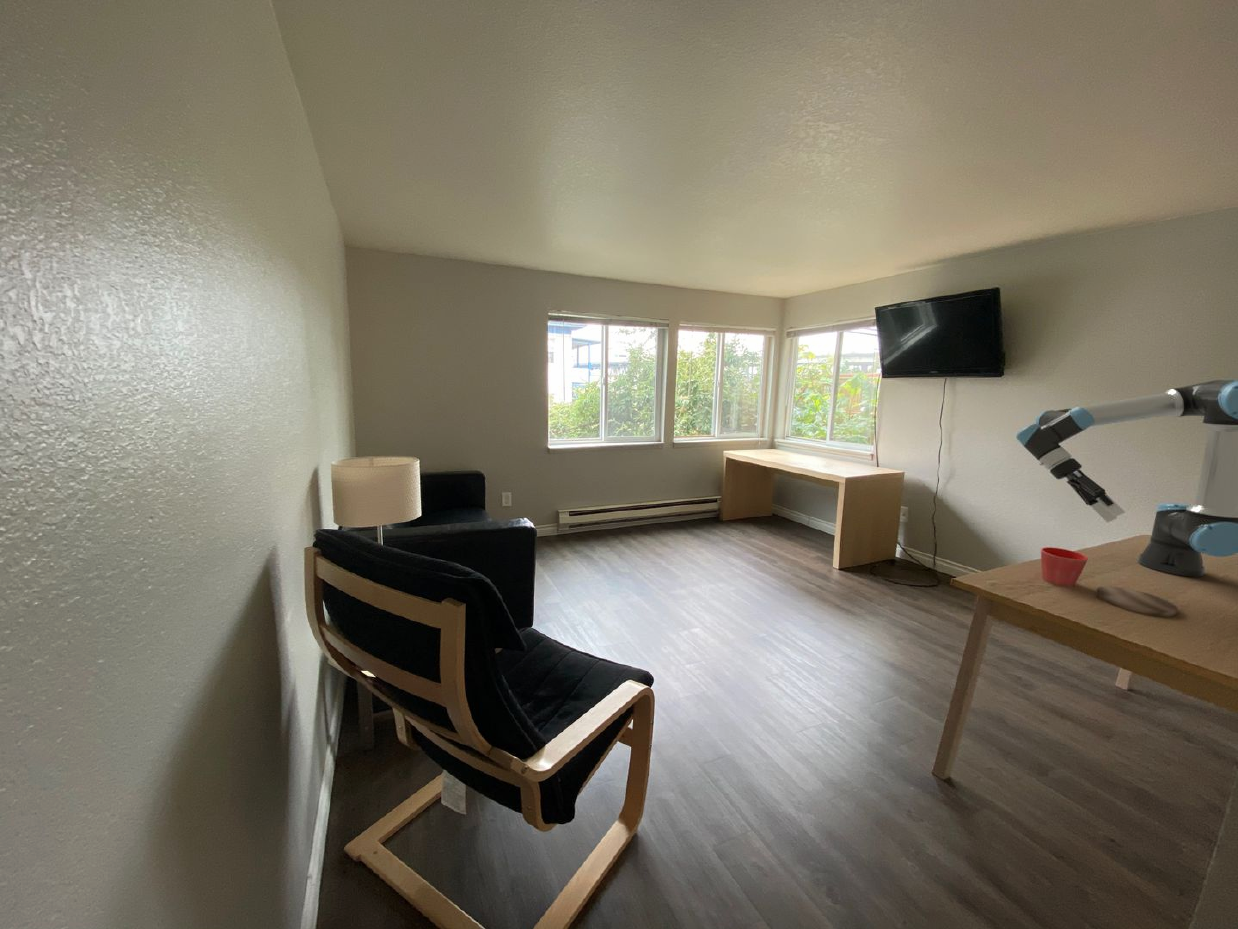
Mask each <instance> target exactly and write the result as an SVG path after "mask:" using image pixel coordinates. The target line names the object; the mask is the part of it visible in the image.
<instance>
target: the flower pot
mask: <svg viewBox="0 0 1238 929" xmlns="http://www.w3.org/2000/svg"><path fill="white" fill-rule="evenodd" d="M1040 560H1041V561H1040V562H1041V563H1040V565H1041V575H1042V576H1041V578H1042V579H1043V581H1046V582H1047V583H1049V584H1053V585H1056V586H1061V587H1074V586H1075V585H1076V584H1077V581H1078V579H1079V577H1080V575H1081V574H1082V573H1083V570H1084V568H1085V566H1086V564H1087V562H1088V557H1087V556H1086V555H1084V554H1082V553H1081V552H1080V553H1079V552H1076V551H1073V550H1069V549H1065V548H1059V547H1052V546H1051V547H1048V546H1047V547H1046V546H1045V547H1042V548H1041V549H1040Z"/></svg>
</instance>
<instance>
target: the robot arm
mask: <svg viewBox="0 0 1238 929" xmlns="http://www.w3.org/2000/svg"><path fill="white" fill-rule="evenodd" d="M1166 416H1170V417H1172V418H1179V417H1180V418H1181V417H1203V420H1202V425H1203V426H1204V427H1206V428H1207V429H1208V433H1207V438H1206V444H1205V449H1204V454H1203V458H1202V464H1201V469H1200V473H1199V479H1198V483H1197V488H1196V494H1195V499H1194V503H1193V504H1184V503H1173V502H1162V503H1160V504H1159V505H1158V506H1157V509H1156V511H1155V513H1156V514H1155V518H1154V523H1153V526H1152V531H1151V536H1150V539H1149V543H1148V544H1147V546H1146V548H1145V549H1143V552H1142V553H1140V554H1139V557H1138V560H1137V562H1138V563H1139V564H1140V566H1144V567H1146V568H1148V569H1152V570H1155V571H1158V572H1163V573H1166V574H1170V575H1177V576H1184V577H1190V578H1192V577H1193V578H1194V577H1195V578H1196V577H1200V578H1201V577H1203V576H1204V574H1205V566H1204V562H1203V556H1202V554H1204V555H1207V556H1212V557H1216V558H1218V557H1219V558H1224V557H1230V556H1234V555H1236V554H1238V379H1234V380H1233V379H1231V380H1229V379H1227V380H1225V379H1216V380H1209V381H1204V382H1200V383H1196V384H1195V383H1194V384H1190V385H1187V386H1182V387H1176V388H1175V387H1174V388H1169V389H1167V390H1166V391H1165V392H1164V393H1158V394H1152V395H1151V394H1150V395H1146V396H1138V397H1133V398H1132V397H1131V398H1127V399H1126V398H1125V399H1121V400H1114V401H1107V402H1101V403H1095V404H1089V405H1088V404H1087V405H1083V406H1076V407H1071V408H1065V409H1059V410H1058V409H1057V410H1054V409H1053V410H1052V409H1051V410H1045V411H1043V412H1041V413H1039V414H1038V415H1037V416H1036V419H1035V423H1032V424H1030V425H1028V426H1025V427H1024V428H1022V429H1021V430H1020V431H1018V432H1017V434H1016V440H1018V442H1019V443H1020V444H1021V445H1022V446H1023V448H1025V449H1026V450H1027V451H1028V452H1029V453H1030V454H1031V455H1032V456H1033V457H1034V458H1035V459H1036V460H1037V461H1039V466H1043V467H1045V468H1046V469H1047V470H1049V473H1050V474H1052V476H1053V477H1054V478H1056V480H1062V479H1064V478H1066V479H1067V480H1066V483H1067V484H1068V485H1069V486H1070V487H1071V488H1072V489H1073V490H1074V491H1075V493H1076V494H1077V495H1078V496H1079V497H1080V498H1081V500H1083V502H1084V503H1085V505H1087V506H1090V508H1092V509H1093V510H1094V511H1095V513H1097V515H1099V516H1100V517H1101V518H1102V519H1103V520H1104V521H1105V522H1106V523H1110V522H1112V521H1114V520H1117V519H1118V516H1121V515H1123V514H1125V513H1126V511H1125V510H1124V509H1123V508H1122V507H1121V506H1120V505H1119V504H1118V503H1116V501H1115V500H1113V499H1112V498H1111V497H1110V496H1109V495H1108V494H1107V493H1106V490H1105V488H1103V487H1102V486H1100V485H1099V484H1098V483H1096V482H1095V481H1094V480H1093V479H1091V477H1088V476H1087V475H1086V474H1085V473H1084V472H1082V470H1081V468H1083V466H1082V464H1081V463H1080V462H1078V461H1077V460H1076V459H1075V458H1073V457H1072V455H1071V454H1070V453H1069V452H1068V451H1067V450H1066V449H1065V448H1064V447H1063V446H1061V445H1060V444H1061V443H1063V442H1064V441H1066V440H1068V439H1070V438H1072V437H1074V436H1076V435H1077V434H1080V433H1082V432H1084V431H1086V430H1087V429H1088V428H1090V427H1097V426H1104V425H1109V424H1110V425H1111V424H1116V423H1124V422H1132V421H1138V420H1145V419H1152V418H1159V417H1166Z"/></svg>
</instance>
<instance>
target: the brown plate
mask: <svg viewBox="0 0 1238 929" xmlns="http://www.w3.org/2000/svg"><path fill="white" fill-rule="evenodd" d="M1095 595H1097V596H1096V597H1097V598H1098V599H1100V600H1102V601H1103V602H1105V603H1107V604H1109V605H1112V606H1113V607H1116V608H1119V609H1123V610H1127V611H1129V612H1133V613H1138V614H1142V615H1148V616H1154V617H1164V618H1165V617H1167V618H1169V617H1174V616H1176V615H1177V612H1178V607H1177V606H1176V605H1175V604H1174V603H1172V602H1170V601H1169V600H1166V599H1165V598H1161V597H1160V596H1155V595H1153V594H1150V593H1147V592H1143V591H1139V590H1136V589H1135V590H1134V589H1131V588H1126V587H1120V586H1109V585H1107V586H1105V585H1104V586H1098V587H1097V588H1096V591H1095Z"/></svg>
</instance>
